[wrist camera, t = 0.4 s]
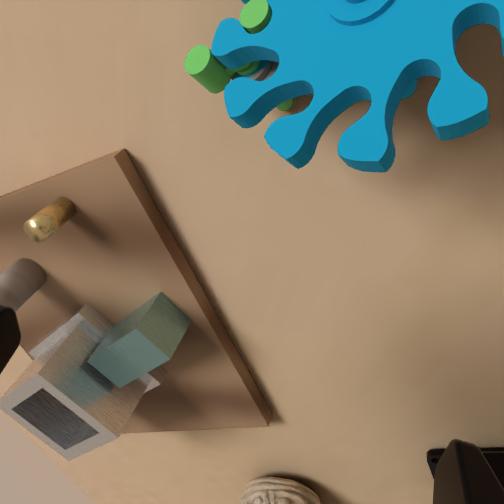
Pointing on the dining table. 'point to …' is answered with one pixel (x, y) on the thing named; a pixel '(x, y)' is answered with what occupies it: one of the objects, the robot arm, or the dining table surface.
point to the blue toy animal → (345, 70)
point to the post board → (124, 290)
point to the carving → (277, 492)
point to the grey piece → (94, 374)
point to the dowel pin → (49, 219)
